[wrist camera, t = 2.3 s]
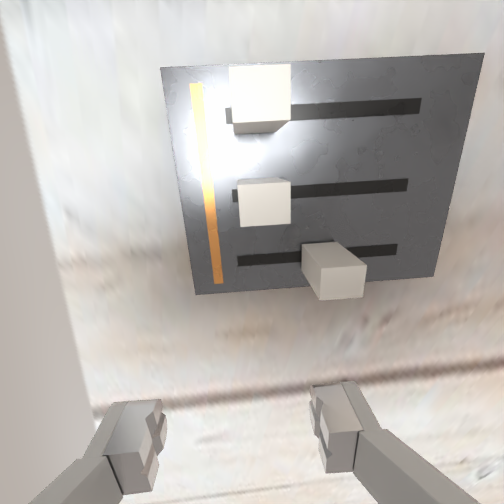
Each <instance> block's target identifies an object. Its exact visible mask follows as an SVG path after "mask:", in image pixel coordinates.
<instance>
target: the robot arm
mask: <svg viewBox="0 0 504 504" xmlns="http://www.w3.org/2000/svg"><path fill="white" fill-rule="evenodd" d="M310 395H311V398H312V400H311V401H310V402H309V411H310V419H311V423H312V428H313V431H314V434H315V435H316V436H317V437H318V438H319V452H320V456H321V459H322V463H323V466H324V470H325V473H340V472H353V474H354V475H355V476H356V477H357V479H358V480H359V481H360V482H361V483H362V485H363V486H364V487H365V488H366V489H367V491H368V492H369V493H370V494H371V495H372V496H373V498H374V499H375V500H376V501H377V502H378V504H480V503H479V502H478V501H477V500H475V499H474V498H473V497H472V496H470V495H469V494H468V493H466V492H465V491H464V490H463V489H461V488H460V487H459V486H458V485H456V484H455V483H454V482H453V481H451V480H450V479H449V478H448V477H446V476H445V475H444V474H443V473H441V472H440V471H439V470H438V469H436V468H435V467H434V466H433V465H431V464H430V463H429V462H428V461H426V460H425V459H424V458H423V457H421V456H420V455H419V454H418V453H416V452H415V451H414V450H413V449H411V448H410V447H409V446H407V445H406V444H405V443H404V442H402V441H401V440H400V439H399V438H397V437H396V436H395V435H394V434H392V433H391V432H390V431H389V430H387V429H382V428H381V427H380V425H379V423H378V421H377V419H376V417H375V416H374V414H373V412H372V410H371V408H370V407H369V405H368V403H367V401H366V399H365V397H364V396H363V394H362V392H361V390H360V388H359V387H358V385H357V383H356V382H355V381H348V382H334V383H324V384H315V385H311V386H310ZM162 408H163V404H162V401H161V399H154V400H137V401H123V402H114V403H113V404H112V405H111V406H110V407H109V409H108V411H107V412H106V414H105V416H104V418H103V420H102V422H101V424H100V426H99V427H98V429H97V431H96V433H95V435H94V437H93V439H92V441H91V443H90V445H89V446H88V448H87V450H86V452H85V454H84V456H83V458H81V459H76V460H75V461H74V462H73V463H72V464H71V465H70V466H69V467H68V468H67V469H66V470H64V471H63V472H62V473H61V474H60V475H59V476H58V477H57V478H56V479H55V480H54V481H53V482H52V483H51V484H49V485H48V486H47V487H46V488H45V489H44V490H43V491H42V492H41V493H40V494H39V495H37V496H36V497H35V498H34V499H33V500H32V501H31V502H30V503H29V504H119V502H120V501H121V500H122V498H123V495H128V494H136V493H143V492H150V491H152V490H153V486H154V482H155V479H156V475H157V471H158V467H159V462H158V459H157V456H158V454H159V453H160V452H161V451H162V450H163V448H164V444H165V440H166V433H167V420H166V415H164V414H163V413H162V412H161V411H162Z"/></svg>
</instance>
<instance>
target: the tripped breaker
mask: <svg viewBox="0 0 504 504" xmlns="http://www.w3.org/2000/svg"><path fill="white" fill-rule="evenodd" d="M366 269H367V265H366V264H365V263H364V262H362V261H361V260H360V259H358V258H357V257H356V256H355V255H353V254H352V253H351V252H349V251H348V250H347V249H346V248H344V247H343V246H342V245H341V244H339V243H338V242H327V243H313V244H302V264H301V270H302V272H303V274H304V275H305V277H306V279H307V280H308V282H309V284H310V285H311V287H312V289H313V290H314V292H315V294H316V295H317V297H318V299H319V300H320V301H324V300H336V299H349V298H361V297H363V294H364V286H365V277H366Z"/></svg>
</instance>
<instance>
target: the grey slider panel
mask: <svg viewBox="0 0 504 504" xmlns="http://www.w3.org/2000/svg"><path fill="white" fill-rule="evenodd" d="M484 54H485V53H471V54H449V55H426V56H404V57H382V58H360V59H338V60H315V61H293V62H271V63H249V64H227V65H205V66H182V67H160V70H161V76H162V83H163V89H164V95H165V102H166V108H167V115H168V121H169V127H170V134H171V140H172V147H173V153H174V159H175V166H176V172H177V179H178V185H179V191H180V198H181V204H182V211H183V217H184V223H185V230H186V236H187V243H188V249H189V255H190V262H191V268H192V275H193V281H194V287H195V294H196V295H201V294H214V293H227V292H240V291H253V290H266V289H279V288H292V287H305V286H311V285H310V284H309V282H308V280H307V279H306V277H305V275H304V274H303V272H302V270H301V264H302V244H313V243H327V242H338V243H339V244H341V245H342V246H343V247H344V248H346V249H347V250H348V251H349V252H351V253H352V254H353V255H355V256H356V257H357V258H358V259H360V260H361V261H362V262H364V263H365V264H366V265H367V269H366V277H365V282H370V281H383V280H396V279H409V278H422V277H433V276H434V271H435V267H436V263H437V258H438V254H439V250H440V245H441V241H442V237H443V232H444V228H445V223H446V219H447V215H448V210H449V206H450V202H451V197H452V193H453V189H454V184H455V180H456V176H457V171H458V167H459V162H460V158H461V154H462V149H463V145H464V141H465V136H466V132H467V128H468V123H469V119H470V115H471V110H472V106H473V101H474V97H475V93H476V88H477V84H478V80H479V75H480V71H481V67H482V62H483V58H484ZM275 64H291V120H290V121H289V122H287V123H286V124H285V125H284V126H283V127H281V128H280V129H279V130H278V131H277V132H267V133H248V134H234V129H233V120H232V107H231V93H230V80H229V67H231V66H253V65H275ZM275 177H277V178H280V179H283V180H286V181H289V182H291V224H278V225H264V226H249V227H240V215H239V201H238V188H237V180H242V179H259V178H275Z"/></svg>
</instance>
